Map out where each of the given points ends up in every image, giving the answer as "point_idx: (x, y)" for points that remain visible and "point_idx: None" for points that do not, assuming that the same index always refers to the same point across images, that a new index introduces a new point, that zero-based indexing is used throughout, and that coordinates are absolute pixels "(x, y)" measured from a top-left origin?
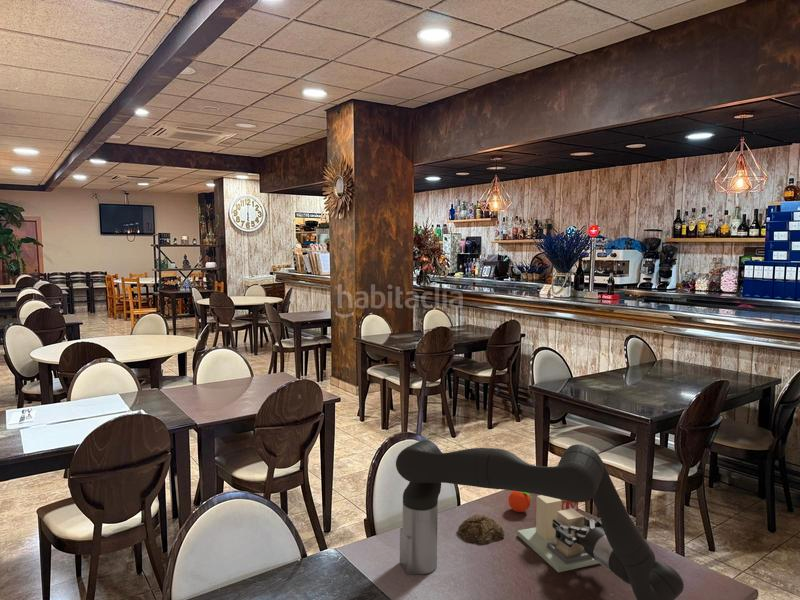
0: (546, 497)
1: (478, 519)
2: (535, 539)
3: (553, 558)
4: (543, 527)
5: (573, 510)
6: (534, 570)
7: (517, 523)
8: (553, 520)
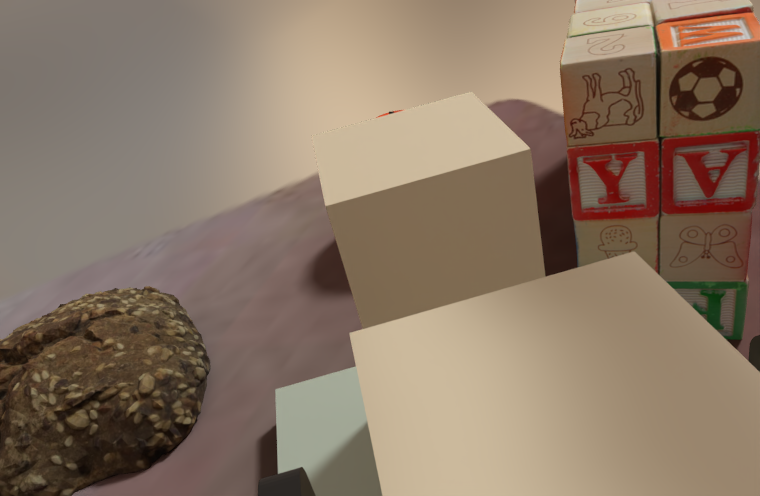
0: (388, 136)
1: (25, 339)
2: (339, 492)
3: None
4: None
5: (638, 295)
6: None
7: (354, 308)
8: (266, 493)
